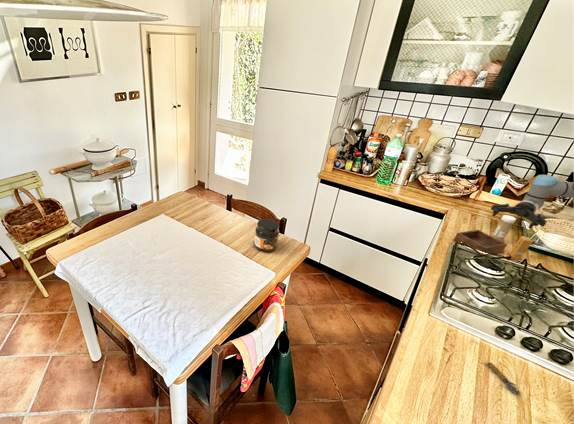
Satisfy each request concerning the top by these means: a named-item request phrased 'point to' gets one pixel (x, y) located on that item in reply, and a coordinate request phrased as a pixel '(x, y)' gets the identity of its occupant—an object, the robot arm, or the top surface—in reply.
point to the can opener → (509, 384)
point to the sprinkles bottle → (503, 227)
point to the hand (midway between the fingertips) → (511, 219)
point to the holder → (481, 241)
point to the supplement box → (520, 247)
